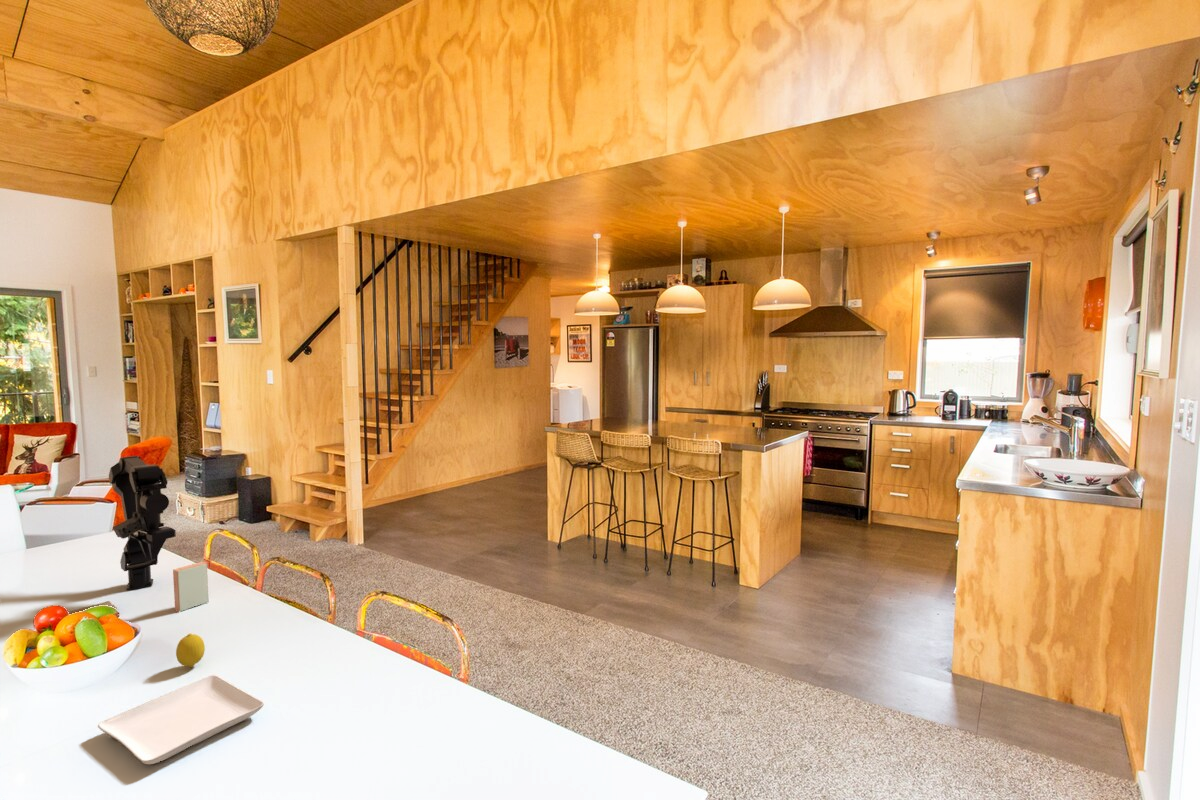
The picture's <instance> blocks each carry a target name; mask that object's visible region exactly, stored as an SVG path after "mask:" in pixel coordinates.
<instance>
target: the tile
mask: <svg viewBox="0 0 1200 800" xmlns="http://www.w3.org/2000/svg"><path fill="white" fill-rule="evenodd" d="M172 575H173V576H172V578H173V579H172V580H173V595H174V611H175V610H177V611H176V612H178V611H181V612H183V610H184V611H186V610H185V609H187V610H189V609H188V608H190V609H192V608H191V607H193V608H195V607H194V606H196V607H198V606H197V605H199V606H201V605H200V604H202V605H204V604H203V603H205V604H208V603H209V600H210V599H209V579H208V562H205V561H200V562H198V563H197V562H196V563H192V564H189V565H186V566H182V567H178V568H174V569H173V570H172ZM207 602H208V603H207Z"/></svg>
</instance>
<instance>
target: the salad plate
mask: <svg viewBox="0 0 1200 800" xmlns="http://www.w3.org/2000/svg"><path fill="white" fill-rule="evenodd" d="M264 705H265V702H264V701H263V700H261V699H259V698H257V697H255V696H253V695H252V694H250V693H248V692H246V691H244V690H242V688H240V687H237V686H235V685H234V684H232V683H230V682H229V681H227V680H225V679H223V678H222V677H220V676H218V675H216V674H211V675H208V676H206V677H202V678H201V679H198V680H196V681H194V682H192V683H189V684H186V685H185V686H182V687H180V688H177V689H175V690H173V691H170V692H168V693H166V694H163V695H160V696H159V697H156V698H154V699H152V700H151V699H150V701H146V702H144V703H142V704H140V705H139V704H138V705H137V706H135V707H133V708H130V709H127V710H125V711H124V712H120V713H119V714H116V715H114V716H112V717H109V718H107V719H105V720H102V721H101V722H99V723H98V724H97V728H98V729H99V730H100V731H101V732H103V733H105V734H106V735H108V736H110V737H111V738H114V739H115V740H117V741H118V742H119V743H121V744H122V745H123V746H124V747H125V748H127V750H129V752H130V753H131V754H133V755H134V757H135V758H136V759H138V760H139V761H141V763H143V764H144V765H154V764H158V763H160V761H161V762H163V761H164V760H167V759H169V758H171V757H173V756H175V755H177V754H179V753H181V752H183V751H185V750H186V748H187V749H188V747H189V748H191V747H193V746H195V745H197V744H199V743H201V742H203V741H205V740H207V739H208V738H212V737H213V736H215V735H217V734H218V733H220V732H222V731H225V730H227V729H228V728H231V727H233V726H235V725H236V724H239V723H241V722H243V721H245V720H247V719H249V718H251V717H252V716H254V715H256V714H257V712H259V711H260V710H261V709H263V707H264ZM192 745H193V746H192ZM190 746H191V747H190Z"/></svg>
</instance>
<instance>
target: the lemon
mask: <svg viewBox="0 0 1200 800" xmlns="http://www.w3.org/2000/svg"><path fill="white" fill-rule="evenodd" d="M205 647H206V646H205V642H204V640H203V638H202V637H201V636H200V635H198V634H195V633H187V635H185V636H184V637H182V638H181V639H180V640H179V642H178V643H177V646H176V650H175V656H176V659H177V662H178V663H179V664H180V665H182V666H185V667H188V668H193V667H194V666H195V665H196V664H198V663H199V662H200V661H201V660H202V659H203V657H204V655H205V651H206V649H205Z"/></svg>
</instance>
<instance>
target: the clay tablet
mask: <svg viewBox="0 0 1200 800" xmlns="http://www.w3.org/2000/svg"><path fill="white" fill-rule="evenodd" d="M99 605H108V606H112V607H114V608H116V609H117V610H118V608H117V607H116V606H115V604H112V602H111V601H110V600H109V601H105V602H100V603H97V604H92V605H89V606H84V607H81V608H77V609H72V610H67V611H68V612H69V614H72V613H75V612H79V611H83V610H85V609H88V608H90V607H94V606H99Z"/></svg>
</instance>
